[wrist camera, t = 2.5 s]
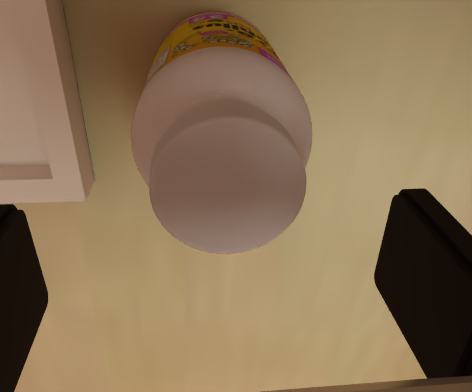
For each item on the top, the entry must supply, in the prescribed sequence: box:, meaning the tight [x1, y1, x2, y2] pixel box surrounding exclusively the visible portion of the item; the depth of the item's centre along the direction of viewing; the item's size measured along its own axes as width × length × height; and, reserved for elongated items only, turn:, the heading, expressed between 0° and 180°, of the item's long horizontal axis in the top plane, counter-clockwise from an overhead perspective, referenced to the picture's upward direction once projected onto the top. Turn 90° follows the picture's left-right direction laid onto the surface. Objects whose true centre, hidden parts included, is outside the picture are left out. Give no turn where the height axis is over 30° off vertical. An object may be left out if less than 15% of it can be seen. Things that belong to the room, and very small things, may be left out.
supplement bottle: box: [131, 12, 312, 254], centre depth 18 cm, size 7×7×13 cm
